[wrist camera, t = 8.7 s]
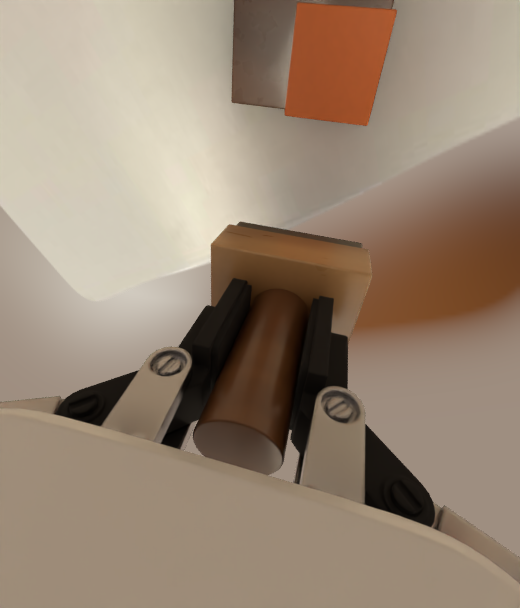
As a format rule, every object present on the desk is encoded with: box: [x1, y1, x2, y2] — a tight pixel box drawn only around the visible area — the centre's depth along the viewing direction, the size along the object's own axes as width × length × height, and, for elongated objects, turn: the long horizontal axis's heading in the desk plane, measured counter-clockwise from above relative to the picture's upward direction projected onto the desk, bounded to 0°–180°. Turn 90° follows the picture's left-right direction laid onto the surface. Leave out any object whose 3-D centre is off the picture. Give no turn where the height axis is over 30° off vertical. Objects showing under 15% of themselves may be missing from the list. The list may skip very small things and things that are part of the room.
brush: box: [193, 222, 372, 475], centre depth 11 cm, size 5×6×9 cm
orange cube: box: [285, 2, 397, 126], centre depth 15 cm, size 4×4×4 cm
